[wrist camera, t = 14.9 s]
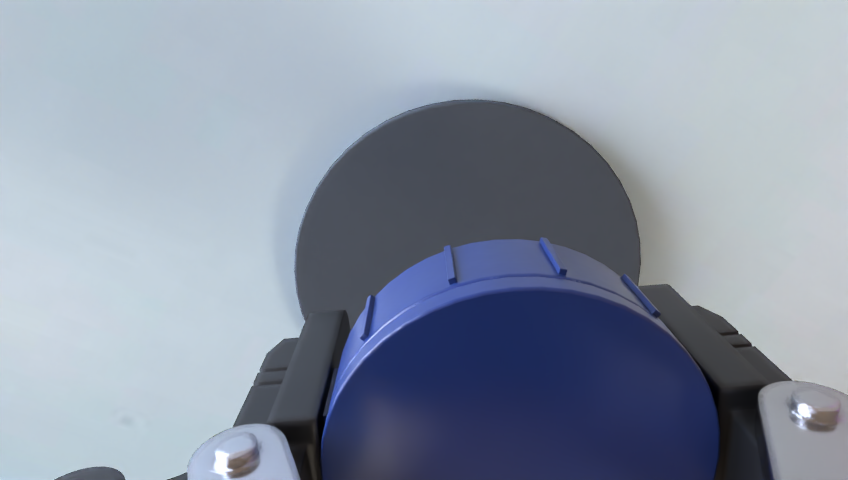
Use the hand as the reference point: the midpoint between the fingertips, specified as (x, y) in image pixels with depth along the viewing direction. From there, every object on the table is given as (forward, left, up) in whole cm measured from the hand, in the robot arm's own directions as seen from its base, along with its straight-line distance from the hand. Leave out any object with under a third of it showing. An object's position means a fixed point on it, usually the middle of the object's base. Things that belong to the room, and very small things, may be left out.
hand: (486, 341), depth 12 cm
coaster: (0, 0, -4) cm, 4 cm away
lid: (0, 0, +3) cm, 3 cm away
